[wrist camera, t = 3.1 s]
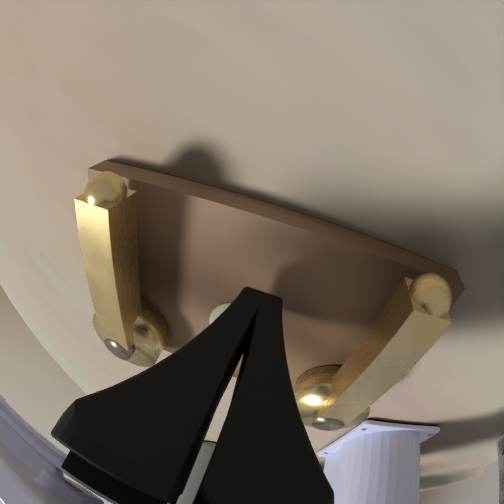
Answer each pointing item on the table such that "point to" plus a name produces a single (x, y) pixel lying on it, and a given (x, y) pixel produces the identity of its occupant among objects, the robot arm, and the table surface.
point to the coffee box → (501, 467)
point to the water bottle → (197, 473)
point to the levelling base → (262, 266)
